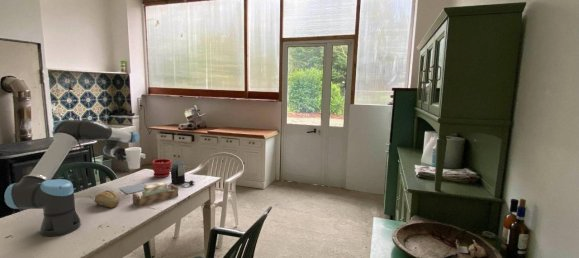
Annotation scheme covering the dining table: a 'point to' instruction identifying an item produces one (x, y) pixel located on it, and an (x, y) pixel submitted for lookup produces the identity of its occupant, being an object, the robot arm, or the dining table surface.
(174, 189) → the offcut rack
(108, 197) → the bread roll
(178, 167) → the milk frother
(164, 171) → the plant pot
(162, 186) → the short birch offcut
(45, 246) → the dining table surface
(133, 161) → the foam cup
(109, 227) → the dining table surface
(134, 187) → the slate mat
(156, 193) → the sage painted offcut
